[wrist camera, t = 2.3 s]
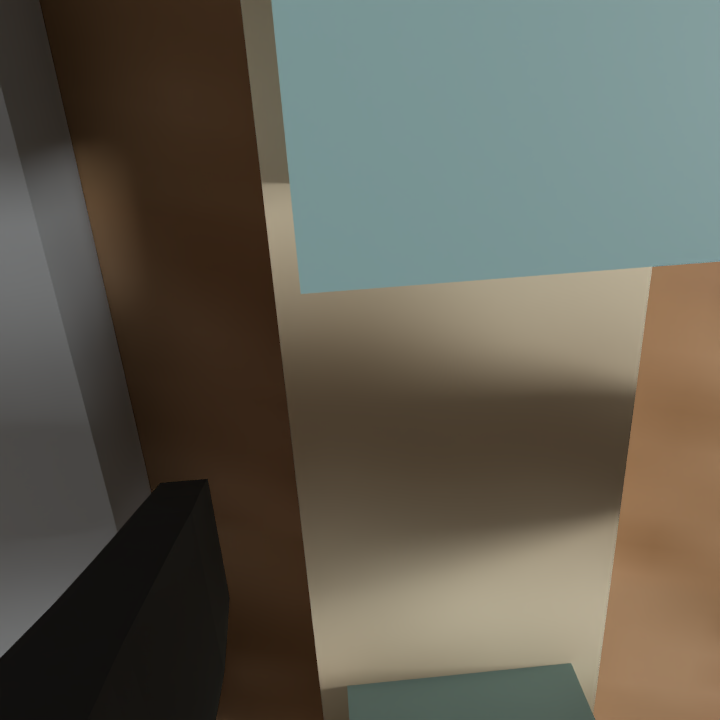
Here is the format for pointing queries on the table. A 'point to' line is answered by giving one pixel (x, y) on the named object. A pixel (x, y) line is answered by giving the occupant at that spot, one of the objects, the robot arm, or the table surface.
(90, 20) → the table surface
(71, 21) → the table surface
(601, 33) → the block
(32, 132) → the loading dock
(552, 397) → the beige bar
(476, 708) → the block
